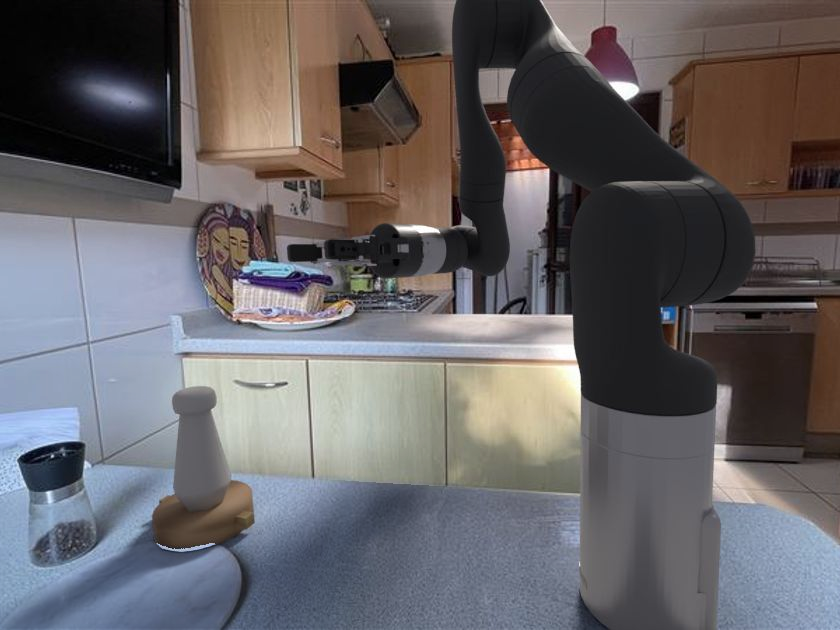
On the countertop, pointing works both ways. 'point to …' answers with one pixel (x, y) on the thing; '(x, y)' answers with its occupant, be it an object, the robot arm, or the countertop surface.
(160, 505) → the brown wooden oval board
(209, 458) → the salt shaker
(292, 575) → the countertop surface
